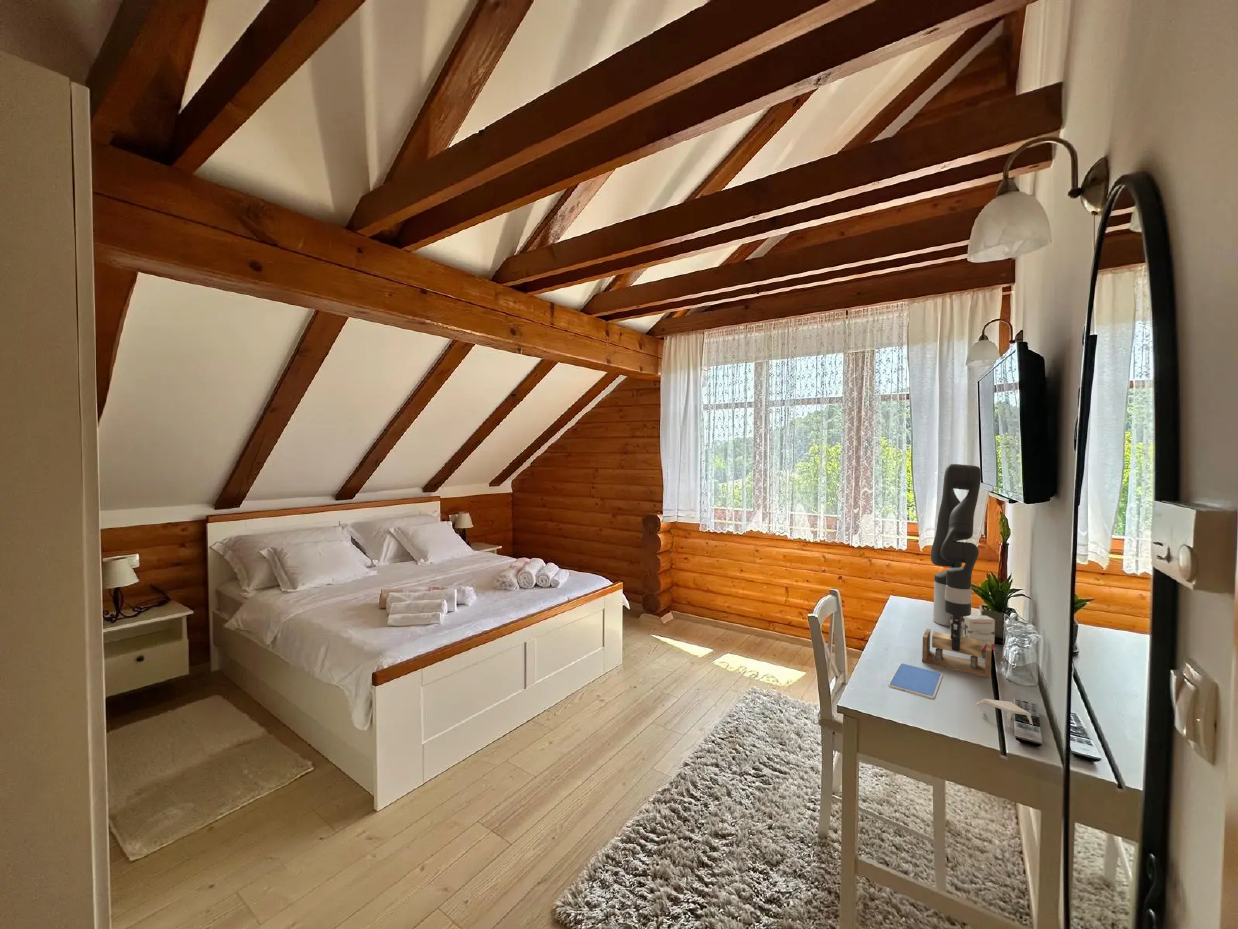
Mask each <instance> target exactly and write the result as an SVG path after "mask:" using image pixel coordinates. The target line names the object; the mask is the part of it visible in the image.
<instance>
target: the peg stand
mask: <svg viewBox="0 0 1238 929" xmlns="http://www.w3.org/2000/svg"><path fill="white" fill-rule="evenodd" d="M992 652H993V651H992V642H990V641H987V647H986V651H985V663H984V662H979V657H977V656H972V655H970V659H967V658H962V657H959V656H958V657H957V656H955V655H954V656H953V655H950V654H944V652H943V649H938V648H935V651H932V650H931V629H929V628H926V629H925V631H924V634H923V635H922V652H921V654H922V655H921V657H922V658H921V660H922V661H921V662H922V663H927V664H930V665H935V666H938V667H943V668H947V669H950V670H954V671H960V672H963V673H967V674H971V675H976V676H980V677H985V678H988V679H990V678H991V673H992Z"/></svg>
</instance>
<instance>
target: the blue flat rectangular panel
mask: <svg viewBox="0 0 1238 929" xmlns="http://www.w3.org/2000/svg"><path fill="white" fill-rule="evenodd" d="M942 679H943V674H942V673H941V672H938V671H934V670H930V669H926V668H921V667H919V666H913V665H910V664H906V663H899V664H898V667H897V668H896V670H895V671H894V673H893V675H892V677H891V679H890V681H889V683H888V684H887V686H888V687H889V688H893V689H895V690H899V691H902V692H906V693H909V694H913V695H917V696H920V697H923V698H928V699H929V700H934V699H935V698H936V694H937V691H938V689H939V687H940V684H941V680H942Z"/></svg>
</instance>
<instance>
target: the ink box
mask: <svg viewBox="0 0 1238 929" xmlns="http://www.w3.org/2000/svg"><path fill="white" fill-rule="evenodd" d="M963 618H965V623H964V630H963V634H962V637H966V638H971V639H976V640H981V641H982V652H983V651H985V652H986V647H987V641H990V642H992V650H994V651H995V639H996V638H995V636H996V629H995V628H996V627H995V626H996V620H995V619H994V618H992V617H990V616H988V615H977V614H976V615H975V614H974V615H973V614H971V615H969V616H964V617H963Z"/></svg>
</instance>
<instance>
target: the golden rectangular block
mask: <svg viewBox="0 0 1238 929" xmlns="http://www.w3.org/2000/svg"><path fill="white" fill-rule="evenodd" d="M954 636H955V635H954ZM956 637H958V636H956ZM960 639H961V640H960V651H954V650H952V639H951V633H950V634H949V633H944V632H939V631H933V632H932V637H931V648H934V649H937V648H938V649H943V650H944V651H949V652H953V653H956V654H957V653H958V654H963V655H968V656H971V655H972V656H977V657H978V658H983V650H982V641H981V640H976V639H971V638H966V637H963V636H962V637H961V638H960Z"/></svg>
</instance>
